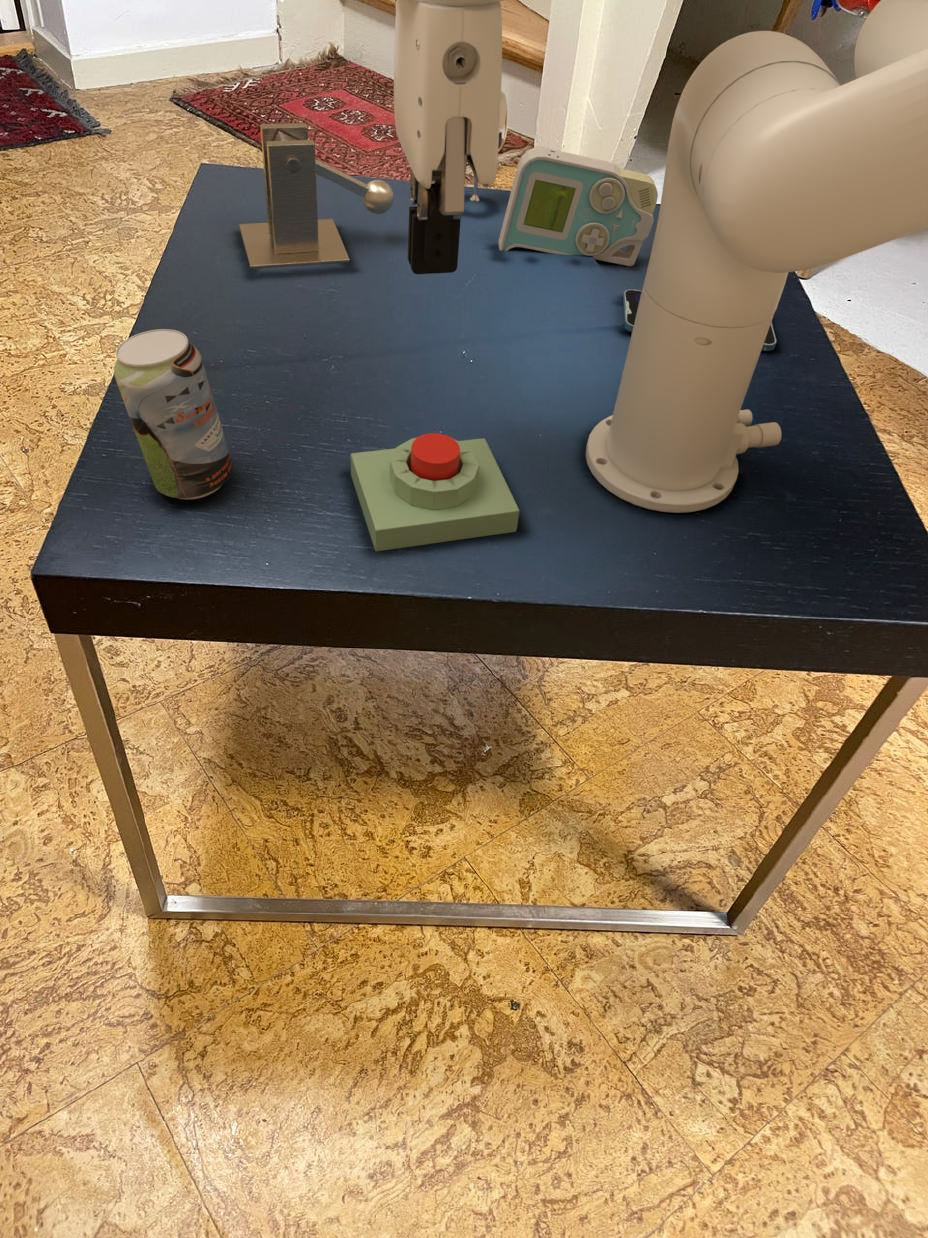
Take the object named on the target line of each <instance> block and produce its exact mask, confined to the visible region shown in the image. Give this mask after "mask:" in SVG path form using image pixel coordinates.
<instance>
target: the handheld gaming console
mask: <svg viewBox="0 0 928 1238" xmlns="http://www.w3.org/2000/svg"><path fill="white" fill-rule="evenodd" d="M511 186H512V187H511V190H510V194H509V199H508V203H507V205H506V206H507V207H506V211H505V214H504V218H503V222H502V226H501V229H500V234H499V237H498V250H499V251H500V252H501V251H504V252H508V251H509V250H510V249H513V248H523V249H529V250H533V251H538V252H543V253H548V254H551V255H553V254H554V255H563V256H564V255H565V256H587V257H588V256H589V257H592V258H593V260H597V261H603V262H607V263H612V264H617V265H622V266H626V267H632V266H634V265H635V264H636V261H637V258H638V256H639V253H640V250H641V248H642V245H643V242H644V240H645V239H647V238H648V237H649V235H650V232H651V229H652V227H653V224H654V220H655V218H654V212H655V209H656V206H657V202H658V197H659V193H658V189H657V186H656V183H655V181H654V180H653V178H652V177H651V176H650V175H648V174H646V173H644V172H643V173H642V172H638V171H633V170H630V169H625V168H620V167H618V166H617V165H615V164H614V163H612V162H610V161H606V160H603V159H597V158H593V157H588V156H584V155H580V154H575V153H571V152H566V151H562V150H558V149H553V148H548V147H544V146H534V147H532V148H530V149H527V150H526V151H525V152H524V153H523V154H522V155H521V157H520V159H519V161H518V163H517V167H516V171H515V175H514V178H513V183H512V185H511ZM627 246H628V248H627V249H626V250H621V249H622V248H625V247H627Z"/></svg>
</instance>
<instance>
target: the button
mask: <svg viewBox="0 0 928 1238" xmlns="http://www.w3.org/2000/svg"><path fill="white" fill-rule="evenodd" d="M417 437H418V438H417ZM417 437H415V438H416V439H415V440H414V441H413V443H412V446H411V469H412V471H413V473H414V474H415V475H416V476H418V477H419V478H422V479H427V480H432V481H439V480H447V479H451V478H452V477H454V476H455V475H456V473H457V472H458V467H459V456H460V447H459V445H458V443H457V442H456V441H455V440H456V439H454V438H453V437H451V436H449V435H447V434H443V433H437V432H436V433H435V432H432V433H431V432H430V433H425V434H422V435H420V436H417Z"/></svg>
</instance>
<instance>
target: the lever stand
mask: <svg viewBox="0 0 928 1238" xmlns="http://www.w3.org/2000/svg"><path fill="white" fill-rule="evenodd" d="M259 127H260V138H261V151H262V152H261V153H262V166H263V179H264V191H265V203H266V204H265V205H266V217H267V222H254V223H253V222H252V223H250V222H249V223H239V224H238V228H239V231H240V235H241V239H242V242H243V247H244V251H245V254H246V257H247V261H248V264H249V268H250V269H251V270H252V269H253V270H256V269H270V268H271V269H272V268H284V267H300V266H315V265H331V264H347V263H348V264H349V263H351V259H350V257H349V254H348V252H347V250H346V248H345V245H344V243H343V240H342V237H341V234H340V232H339V230H338V228H337V225H336V223H335V220H334V219H333V218H326V219H325V218H324V219H319V217H318V216H319V215H318V194H317V193H318V192H317V189H318V187H317V174H316V161H315V159H316V144H315V141H314V139H309V131H308V130H309V129H308V128H309V127H308V125H307V122H290V123H289V122H288V123H287V122H286V123H285V122H284V123H260V126H259ZM278 131H280V132H282V133H284V134H286V135H288V136H290V137H292V138H294V139H296V140H292V141H274V140H275V138H276V135H277V133H278Z"/></svg>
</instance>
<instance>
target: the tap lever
mask: <svg viewBox="0 0 928 1238" xmlns="http://www.w3.org/2000/svg"><path fill="white" fill-rule="evenodd" d="M292 140H296V139H294V138H292V137H290V136H288V135H286V134H284V133H282V132H280V131H278V133H277V135H276V138H275V140H274V141H292ZM315 161H316V176H319V177H321V178H323V179H325V180H326V181H329V182H332V184H335V185H337V186H340V187H341V188H344V189H345V190H347V191H349V192H352V193H354V194H356V195H357V196H360V197H361V199H362V204H363V205H364V207H365V208H366V210H367V211H369V212H370V213H372V214H373V215H374V214H375V215H383V214H385V213H387V212H388V211H389V210H390V209H391V208H392V206H393V203H394V192H393V189H392V186H390V185H389V184H388V183H387V182H386V181H384V180H381V179H373V180H371V181H369V182H368V183H364V182H362V181H361V180H359V179H358V178H355V177H352V176H351V175H349V174H346V173H344V172H342V171H340V170H339V169H336V168H334V167H333V166H330V165H328V164H326V163H325V162H322V161H320V160H318V159H316V158H315Z"/></svg>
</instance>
